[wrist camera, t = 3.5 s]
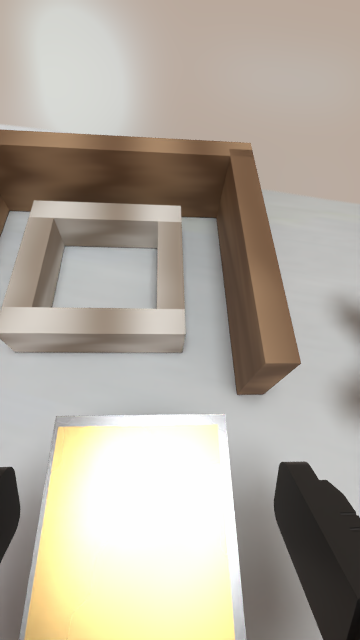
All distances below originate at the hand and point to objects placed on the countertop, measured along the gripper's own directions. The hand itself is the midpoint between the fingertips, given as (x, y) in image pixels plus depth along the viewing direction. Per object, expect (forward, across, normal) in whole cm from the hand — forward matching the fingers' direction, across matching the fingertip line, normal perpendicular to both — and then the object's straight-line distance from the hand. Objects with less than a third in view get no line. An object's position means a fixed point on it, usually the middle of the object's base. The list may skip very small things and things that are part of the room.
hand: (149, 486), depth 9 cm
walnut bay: (+12, +3, -4) cm, 13 cm away
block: (+4, 0, +4) cm, 6 cm away
